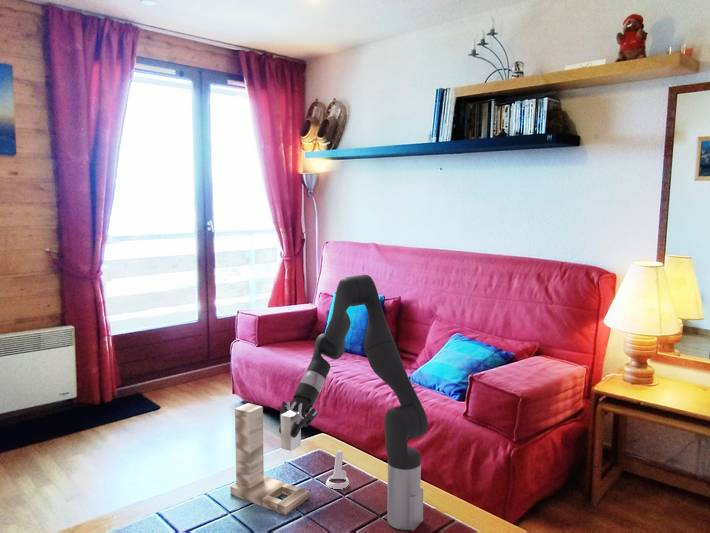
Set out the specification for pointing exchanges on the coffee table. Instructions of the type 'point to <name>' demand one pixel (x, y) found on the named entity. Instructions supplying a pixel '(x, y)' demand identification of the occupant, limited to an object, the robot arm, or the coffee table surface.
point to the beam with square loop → (259, 466)
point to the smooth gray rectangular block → (289, 431)
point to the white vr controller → (338, 473)
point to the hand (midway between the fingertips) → (286, 434)
